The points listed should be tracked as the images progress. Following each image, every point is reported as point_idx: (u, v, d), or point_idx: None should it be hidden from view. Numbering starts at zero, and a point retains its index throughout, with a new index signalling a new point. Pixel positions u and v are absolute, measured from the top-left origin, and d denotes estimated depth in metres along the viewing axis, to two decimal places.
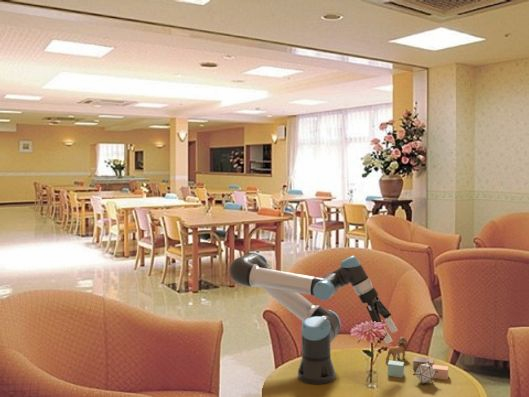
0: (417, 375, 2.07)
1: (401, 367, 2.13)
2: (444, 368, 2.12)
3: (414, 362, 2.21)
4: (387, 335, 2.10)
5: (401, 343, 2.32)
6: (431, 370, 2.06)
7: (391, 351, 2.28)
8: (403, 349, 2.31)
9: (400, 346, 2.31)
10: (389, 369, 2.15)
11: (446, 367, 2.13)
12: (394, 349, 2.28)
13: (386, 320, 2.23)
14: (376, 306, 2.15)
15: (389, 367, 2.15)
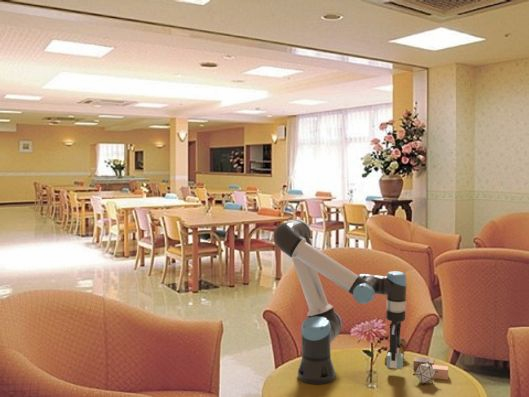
0: (417, 375, 2.07)
1: (400, 359, 2.13)
2: (444, 368, 2.12)
3: (414, 362, 2.21)
4: (395, 361, 2.13)
5: (400, 344, 2.31)
6: (431, 370, 2.06)
7: None
8: (402, 350, 2.30)
9: None
10: (388, 361, 2.15)
11: (446, 367, 2.13)
12: None
13: None
14: (398, 330, 2.12)
15: (388, 359, 2.15)
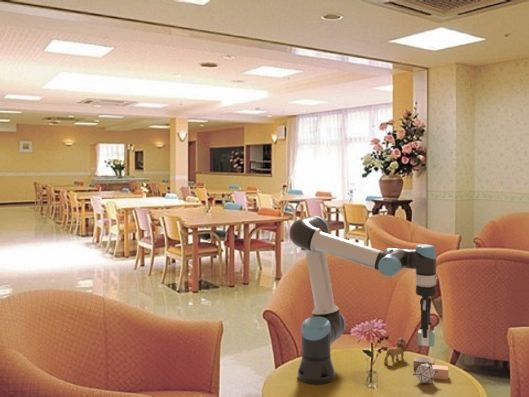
0: (417, 375, 2.07)
1: (432, 336, 2.04)
2: (444, 368, 2.12)
3: (414, 362, 2.21)
4: (427, 338, 2.04)
5: (400, 344, 2.30)
6: (431, 370, 2.06)
7: (389, 352, 2.27)
8: (402, 350, 2.30)
9: (399, 347, 2.30)
10: (419, 338, 2.06)
11: (446, 367, 2.13)
12: (392, 350, 2.27)
13: None
14: (429, 305, 2.03)
15: (419, 336, 2.06)
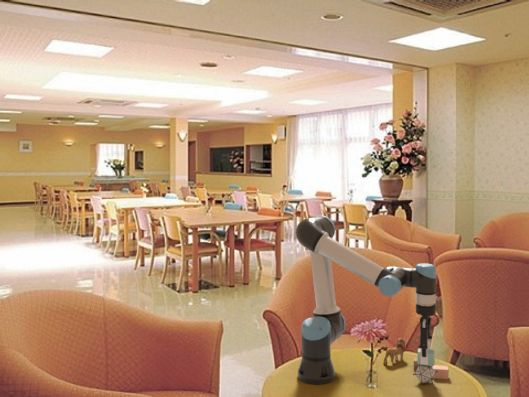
0: (417, 375, 2.07)
1: (432, 355, 2.04)
2: (444, 368, 2.12)
3: (414, 362, 2.21)
4: (426, 357, 2.02)
5: (399, 344, 2.30)
6: (431, 370, 2.06)
7: (389, 352, 2.26)
8: (401, 350, 2.30)
9: (398, 347, 2.29)
10: (419, 357, 2.06)
11: (446, 367, 2.14)
12: (392, 350, 2.26)
13: None
14: (428, 324, 2.03)
15: (419, 355, 2.06)
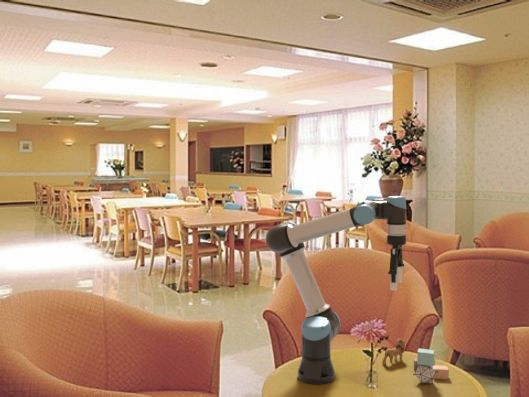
0: (417, 375, 2.07)
1: (432, 355, 2.04)
2: (444, 368, 2.13)
3: (415, 362, 2.21)
4: (395, 283, 2.07)
5: (398, 345, 2.29)
6: (431, 370, 2.06)
7: (388, 353, 2.25)
8: (400, 351, 2.29)
9: (397, 348, 2.28)
10: (419, 357, 2.06)
11: (445, 366, 2.14)
12: (391, 351, 2.26)
13: (397, 268, 2.20)
14: (399, 253, 2.10)
15: (419, 355, 2.06)
